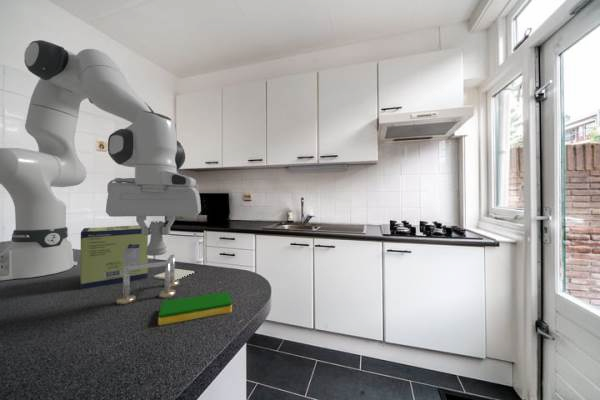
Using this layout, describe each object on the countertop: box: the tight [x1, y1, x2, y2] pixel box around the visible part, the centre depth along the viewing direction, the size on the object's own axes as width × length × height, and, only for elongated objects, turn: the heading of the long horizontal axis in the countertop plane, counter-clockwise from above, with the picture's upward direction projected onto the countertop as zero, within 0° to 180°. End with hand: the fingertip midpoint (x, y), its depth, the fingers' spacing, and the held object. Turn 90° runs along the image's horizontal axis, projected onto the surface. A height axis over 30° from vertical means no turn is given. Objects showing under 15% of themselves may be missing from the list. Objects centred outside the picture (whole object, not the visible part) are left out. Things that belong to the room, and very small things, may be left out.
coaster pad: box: [153, 268, 195, 280], centre depth 74 cm, size 8×8×1 cm
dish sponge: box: [157, 291, 233, 326], centre depth 51 cm, size 7×14×2 cm, turn 115°
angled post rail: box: [116, 254, 180, 306], centre depth 60 cm, size 10×16×8 cm, turn 161°
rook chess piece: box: [146, 220, 167, 257], centre depth 58 cm, size 4×4×8 cm
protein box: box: [80, 224, 149, 290], centre depth 71 cm, size 10×16×16 cm
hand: (156, 234), depth 58 cm, fingers closed on rook chess piece, 3 cm apart
